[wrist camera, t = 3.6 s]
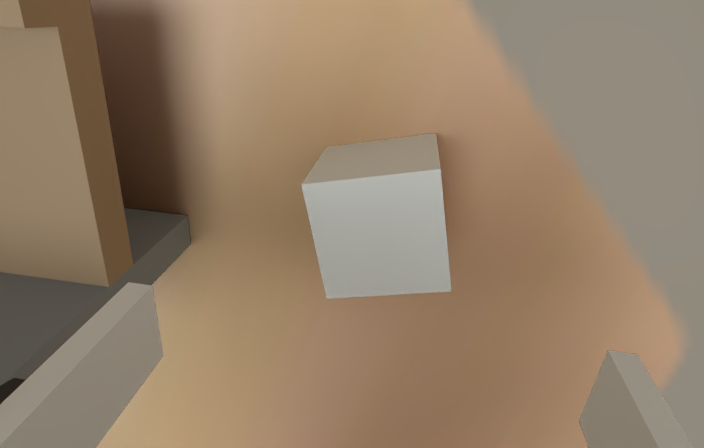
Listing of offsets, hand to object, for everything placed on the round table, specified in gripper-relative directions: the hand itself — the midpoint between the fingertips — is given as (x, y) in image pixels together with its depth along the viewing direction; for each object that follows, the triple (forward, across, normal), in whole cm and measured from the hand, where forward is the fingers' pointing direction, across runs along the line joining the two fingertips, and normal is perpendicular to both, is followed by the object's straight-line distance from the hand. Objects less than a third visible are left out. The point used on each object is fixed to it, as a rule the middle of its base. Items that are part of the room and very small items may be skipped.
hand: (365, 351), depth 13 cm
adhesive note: (+14, 0, 0) cm, 14 cm away
